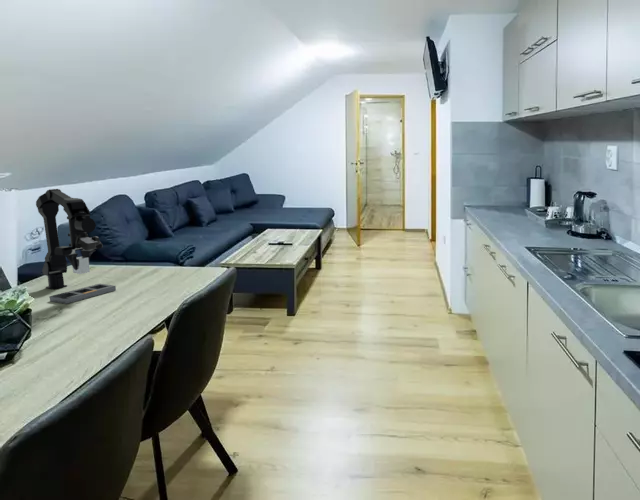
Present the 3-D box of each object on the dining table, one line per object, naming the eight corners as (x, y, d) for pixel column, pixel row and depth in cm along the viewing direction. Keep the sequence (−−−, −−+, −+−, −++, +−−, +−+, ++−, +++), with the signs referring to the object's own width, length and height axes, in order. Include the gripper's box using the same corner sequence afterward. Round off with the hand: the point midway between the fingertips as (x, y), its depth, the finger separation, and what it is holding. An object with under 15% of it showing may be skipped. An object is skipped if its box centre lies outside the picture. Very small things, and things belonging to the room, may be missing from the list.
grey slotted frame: (50, 301, 233) (49, 296, 233) (100, 288, 253) (99, 283, 253) (66, 304, 228) (65, 298, 228) (115, 290, 248) (115, 285, 248)
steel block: (73, 272, 238) (71, 258, 237) (82, 270, 242) (81, 256, 241) (80, 273, 236) (78, 259, 235) (89, 271, 240) (88, 257, 239)
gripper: (69, 235, 224) (74, 275, 227) (109, 228, 240) (113, 266, 243) (51, 233, 230) (55, 272, 233) (91, 227, 246) (95, 263, 248)
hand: (81, 268), depth 239 cm, fingers closed on steel block, 4 cm apart
